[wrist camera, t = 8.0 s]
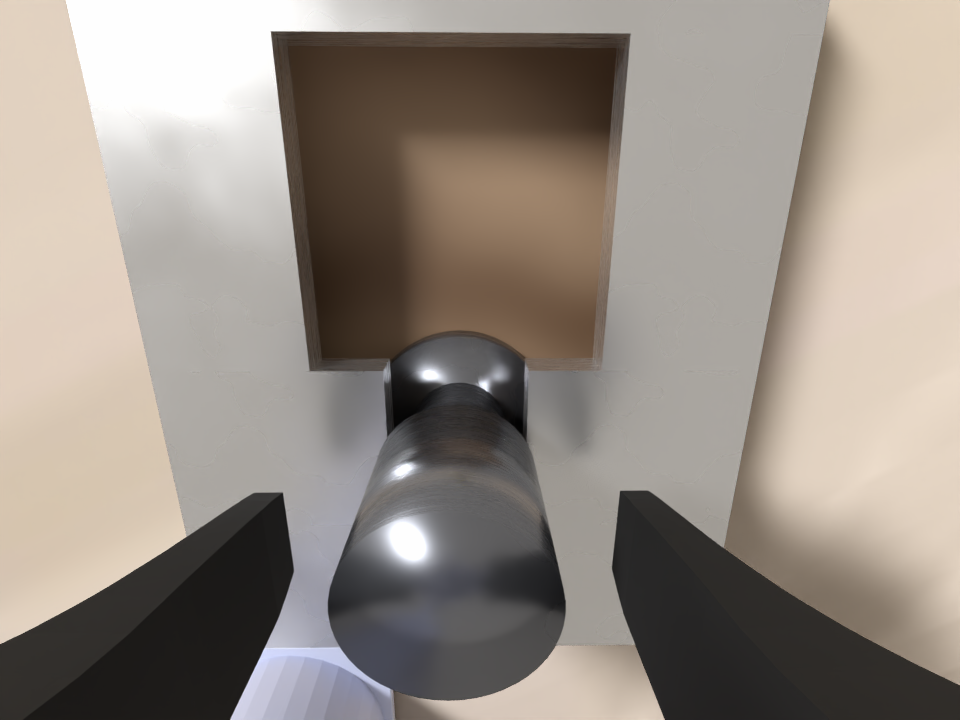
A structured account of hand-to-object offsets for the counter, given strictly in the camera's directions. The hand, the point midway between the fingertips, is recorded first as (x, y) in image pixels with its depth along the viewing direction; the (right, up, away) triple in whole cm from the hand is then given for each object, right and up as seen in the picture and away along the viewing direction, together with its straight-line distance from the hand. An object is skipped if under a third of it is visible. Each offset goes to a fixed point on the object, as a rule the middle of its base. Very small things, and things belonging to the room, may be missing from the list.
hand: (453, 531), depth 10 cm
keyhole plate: (0, +5, +4) cm, 7 cm away
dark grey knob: (0, +2, +5) cm, 6 cm away
